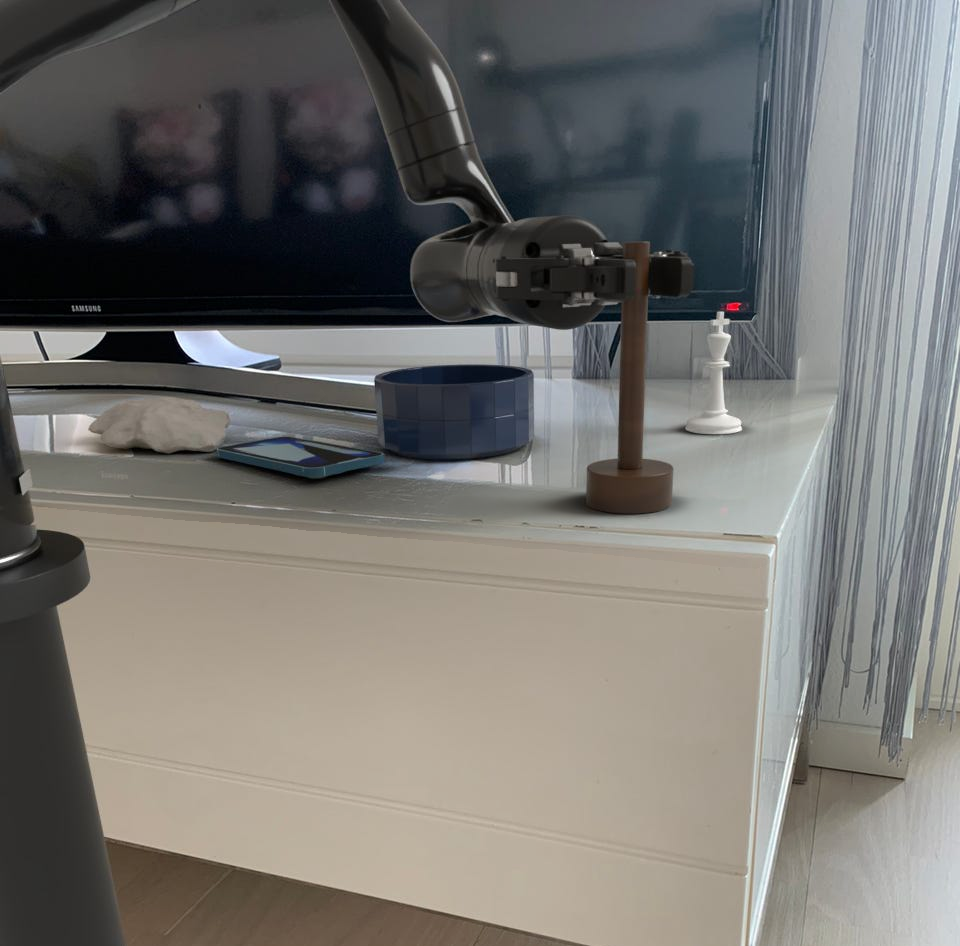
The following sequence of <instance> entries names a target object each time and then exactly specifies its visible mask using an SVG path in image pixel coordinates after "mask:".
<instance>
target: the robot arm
mask: <svg viewBox="0 0 960 946" xmlns="http://www.w3.org/2000/svg"><path fill="white" fill-rule="evenodd" d="M199 1H200V0H0V95H2V94H4V93H5V92H6V91H7V90H9V89H10V88H12V87H13V86H15V85H17V84H18V83H19V82H20V81H22V80H24V79H25V78H26V77H28V76H30V75H31V74H33V73H35V72H36V71H38V70H39V69H41V68H43V67H44V66H46V65H48V64H50V63H51V62H54V61H56V60H58V59H59V58H62V57H65V56H67V55H70V54H73V53H77V52H80V51H83V50H86V49H90V48H93V47H98V46H101V45H104V44H107V43H111V42H114V41H116V40H118V39H121V38H124V37H126V36H130V35H131V34H134V33H136V32H138V31H140V30H143V29H146V28H148V27H150V26H152V25H154V24H157V23H159V22H161V21H163V20H165V19H167V18H169V17H170V16H171V17H172V16H173V15H174V14H176V13H178V12H181V11H182V10H184V9H186V8H188V7H190V6H192V5H194V4H195V3H198V2H199ZM328 2H329V4H330V6H331V9H332V10H333V12H334V14H335V16H336V18H337V21H338V22H339V24H340V26H341V28H342V30H343V32H344V35H345V36H346V38H347V41H348V43H349V45H350V47H351V49H352V52H353V53H354V56H355V58H356V61H357V63H358V65H359V67H360V69H361V73H362V74H363V76H364V79H365V81H366V84H367V87H368V90H369V92H370V94H371V98H372V100H373V103H374V105H375V108H376V112H377V114H378V117H379V120H380V123H381V126H382V130H383V133H384V136H385V138H386V142H387V145H388V148H389V151H390V154H391V156H392V160H393V163H394V167H395V169H396V170H397V175H398V179H399V182H400V184H401V188H402V190H403V193H404V196H405V197H406V198H407V200H408V201H409V202H410V203H411V204H413V205H416V206H430V205H438V204H454V205H456V206H458V207H459V208H460V209H461V210H462V211H463V212H464V213H465V214H466V215H467V216H468V218H469V220H470V222H469V223H467V224H463V225H461V226H458V227H455V228H452V229H450V230H447V231H445V232H442V233H439V234H436V235H433V236H431V237H429V238H427V239H425V240H424V241H422V242H420V244H419V245H418V246H417V247H416V249H415V250H414V252H413V254H412V257H411V260H410V266H409V280H410V285H411V289H412V291H413V294H414V296H415V298H416V300H417V301H418V303H419V305H421V307H422V308H423V309H424V310H425V311H426V312H427V313H428V314H429V315H431V316H432V317H433V318H436V319H438V320H440V321H443V322H448V323H457V322H463V321H468V320H469V321H470V320H474V319H475V320H476V319H479V318H483V317H489V316H498V317H505V318H508V319H510V320H512V321H514V322H516V323H517V322H518V323H521V324H523V325H530V326H535V327H542V328H547V329H552V330H558V331H560V330H561V331H568V330H569V331H570V330H575V329H577V328H581V327H583V326H585V325H586V324H589V322H591V321H593V320H594V319H595V318H596V317H597V316H598V315H599V314H601V312H602V311H603V309H604V308H605V307H606V306H611V305H618V304H619V303H620V304H621V300H632V299H633V298H634V297H635V292H636V263H635V261H634V260H633V259H622V255H623V245H621V244H620V242H618V241H614V242H613V241H612V242H610V241H609V240H608V238H607V236H606V235H605V233H604V232H603V231H602V230H601V229H600V228H599V226H598V225H596V224H595V223H593V222H591V221H590V220H589V219H586V218H585V217H581V216H578V215H572V214H571V215H570V214H565V215H564V214H562V215H550V216H549V215H547V216H537V217H536V216H535V217H534V216H533V217H525V218H522V219H521V218H520V219H518V220H516V221H515V220H514V218H513V216H512V215H511V213H510V212H509V210H508V208H507V206H506V205H505V204H504V202H503V200H502V197H500V195H499V193H498V191H497V189H496V188H495V185H494V183H493V181H492V180H491V178H490V176H489V173H488V172H487V170H486V167H485V165H484V163H483V161H482V158H481V156H480V153H479V150H478V147H477V144H476V142H475V141H476V138H475V136H474V132H473V129H472V126H471V123H470V119H469V116H468V112H467V109H466V105H465V102H464V98H463V96H462V93H461V90H460V87H459V84H458V82H457V79H456V77H455V74H454V73H453V71H452V69H451V67H450V65H449V63H448V62H447V60H446V58H445V56H444V55H443V54H442V52H441V51H440V49H439V48H438V47H437V45H436V44H435V42H433V39H431V37H430V36H429V35H428V34H427V33H426V32H425V30H423V28H422V26H420V25H419V23H418V22H417V21H416V20H415V18H414V17H412V15H411V13H410V12H409V11H408V10H407V8H406V7H405V6H404V4H403V3H402V2H401V0H328ZM694 277H695V263H693V262H692V258H691V257H689V256H688V253H687V252H683V250H674V249H666V250H665V252H664V251H654V252H653V253H652V254H650V253H649V281H648V297H651V298H652V299H661V297H670V298H685V297H686V298H687V297H689V296H690V294H691V292H692V290H694V280H695V279H694ZM23 462H24V461H23V458H22V452H21V448H20V443H19V438H18V433H17V429H16V424H15V419H14V415H13V409H12V405H11V400H10V396H9V391H8V386H7V381H6V377H5V371H4V367H3V362H2V357H1V356H0V572H1V571H5V570H8V569H11V568H14V567H17V566H20V565H22V564H24V563H27V562H29V561H31V560H32V559H34V558H36V557H37V556H38V555H39V554H40V553H41V552H42V545H41V540H40V536H39V535H38V533H37V530H38V529H37V525H36V524H33V523H34V521H35V515H34V510H33V504H32V500H31V495H30V491H29V490H30V489H31V488H32V487H33V486H34V484H33V479H32V475H31V474H32V473H31V470H30V468H28V469H27V470H26V471H25V467H24V463H23Z"/></svg>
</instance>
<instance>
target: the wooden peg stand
mask: <svg viewBox="0 0 960 946" xmlns="http://www.w3.org/2000/svg"><path fill="white" fill-rule="evenodd" d="M622 246H623V255H622V259H633V260H634V261H635V263H636V292H635V297H634V298H633V299H632V300H621V303H620V306H621V307H620V338H619V339H620V340H619V341H620V343H619V344H620V347H619V384H618V385H619V386H618V387H619V388H618V389H619V390H618V426H617V427H618V429H617V431H618V432H617V458H609V459H602V460H597V461H594V462H592V463H590V464H588V465H587V467H586V482H585V483H586V488H585V489H586V492H585V495H586V496H585V502H586V503H585V504H586V505H587V507H589V508H591V509H594V510H597V511H600V512H605V513H611V514H620V515H621V514H622V515H623V514H624V515H630V514H631V515H636V514H639V515H640V514H648V513H656V512H659V511H664V510H666V509H669V508H670V507H671V506H672V504H673V489H674V488H673V486H674V466H673V465H672V464H671V463H668V462H665V461H662V460H657V459H650V458H643V457H644V455H643V454H644V427H645V400H646V399H645V397H646V369H647V340H648V339H647V334H648V307H649V296H648V281H649V254H650V248H651V247H650V246H651V242H650V241H624V242H622Z"/></svg>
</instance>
